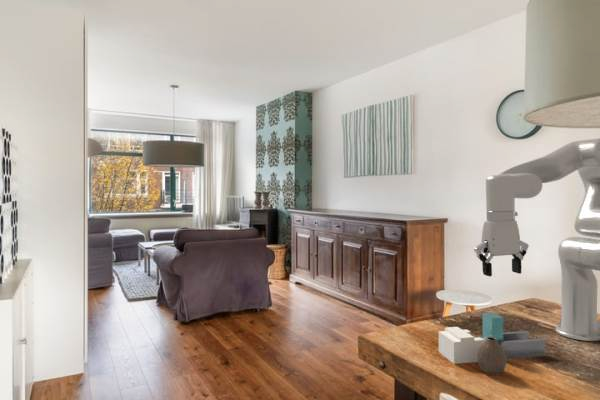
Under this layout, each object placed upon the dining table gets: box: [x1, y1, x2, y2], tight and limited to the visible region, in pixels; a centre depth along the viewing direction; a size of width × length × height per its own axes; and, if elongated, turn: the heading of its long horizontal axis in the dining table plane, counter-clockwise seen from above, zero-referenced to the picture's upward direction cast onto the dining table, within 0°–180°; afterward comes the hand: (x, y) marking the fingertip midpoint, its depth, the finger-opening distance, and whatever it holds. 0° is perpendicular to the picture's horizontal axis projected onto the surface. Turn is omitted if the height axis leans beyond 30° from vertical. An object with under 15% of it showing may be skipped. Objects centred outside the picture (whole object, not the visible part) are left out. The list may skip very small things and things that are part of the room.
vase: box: [477, 337, 507, 376], centre depth 105 cm, size 7×7×9 cm
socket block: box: [438, 326, 484, 365], centre depth 114 cm, size 9×8×7 cm
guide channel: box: [498, 330, 547, 360], centre depth 117 cm, size 14×8×4 cm, turn 99°
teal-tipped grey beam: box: [481, 312, 504, 342], centre depth 115 cm, size 14×4×10 cm, turn 99°
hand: (502, 274), depth 119 cm, fingers open, 9 cm apart
